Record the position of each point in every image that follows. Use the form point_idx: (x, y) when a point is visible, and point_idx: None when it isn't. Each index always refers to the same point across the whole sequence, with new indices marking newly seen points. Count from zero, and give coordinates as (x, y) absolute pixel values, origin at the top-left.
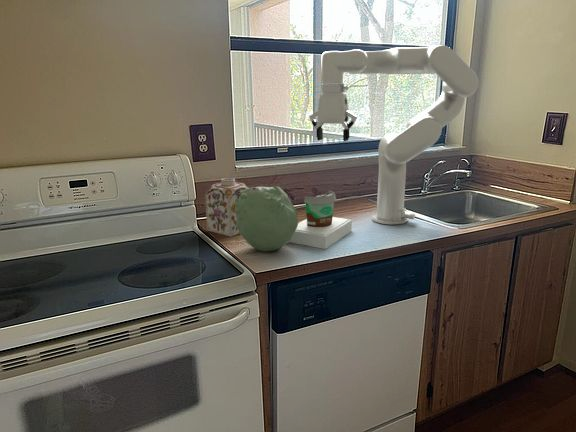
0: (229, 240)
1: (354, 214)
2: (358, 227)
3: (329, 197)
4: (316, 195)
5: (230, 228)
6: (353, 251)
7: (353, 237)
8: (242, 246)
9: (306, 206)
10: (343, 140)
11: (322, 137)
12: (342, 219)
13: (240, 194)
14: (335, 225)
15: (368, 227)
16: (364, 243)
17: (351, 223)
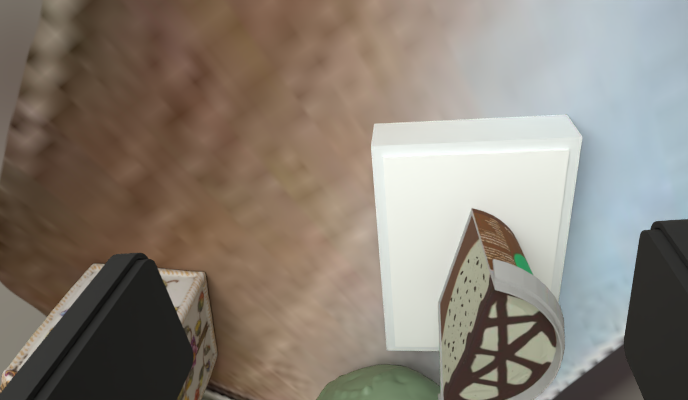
0: (238, 372)
1: None
2: (582, 41)
3: (551, 375)
4: (466, 359)
5: (209, 376)
6: None
7: (600, 181)
8: (306, 390)
9: (443, 373)
10: (628, 350)
11: (140, 281)
12: (540, 167)
13: None
14: (542, 253)
15: (635, 11)
16: (663, 220)
17: (577, 131)
